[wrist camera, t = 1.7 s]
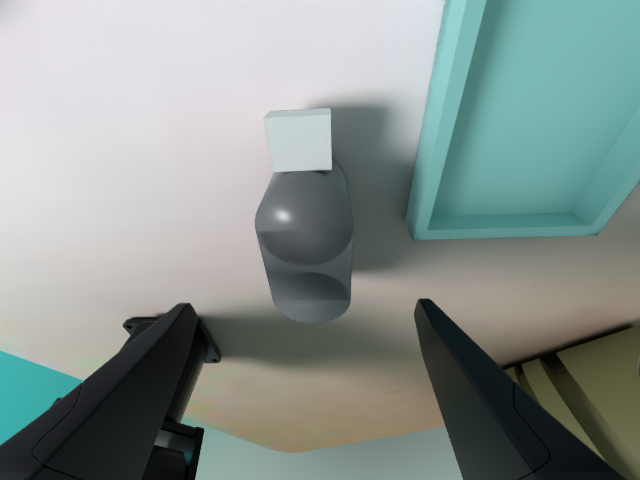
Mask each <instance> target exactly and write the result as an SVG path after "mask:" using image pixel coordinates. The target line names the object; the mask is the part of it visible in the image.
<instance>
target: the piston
mask: <svg viewBox="0 0 640 480" xmlns="http://www.w3.org/2000/svg"><path fill="white" fill-rule="evenodd" d="M556 354H557V355H558V357H559V359H560V360H561V361H562V363H563V364H564V366H565V367H566V368H567V371H563V372H560V373H557V374H554V372H553V371H552V370H551V369H550V368H549V367H548V366H547V365H546V364H545V363H544V362H543V361H542V360H541V359H540V358H538V359H535V360H532V361H529V362H526V363H523V364H522V368H523V371H524V372H523V371H522V370H521V369H520V368H518V367H517V366H514V367H511V368H508V369H505V370H504V371H505V372H506V373H507V374H508V375H509V376H510V377H511V378H512V379H513V381H515V382H516V383H518V384H519V385H520V386H521V387H522V388H523V389H524V390H525V391H526V392H527V393H528V394H529V395H530V396H531V397H532V398H533V399H534V400H535V401H536V402H538V403H539V404H540V405H541V406H542V407H543V408H544V409H545V410H546V411H547V412H548V413H550V414H551V415H552V416H553V417H554V418H555V419H556V420H558V421H559V422H560V423H561V424H562V425H563V426H564V427H566V428H567V429H568V430H569V431H570V432H572V433H573V434H574V435H575V436H576V437H577V438H579V439H580V440H581V441H582V442H583V443H584V444H586V445H587V446H588V447H589V448H590V449H592V450H593V451H594V452H595V453H596V454H597V455H599V456H600V457H601V458H602V459H603V460H604V461H606V462H607V463H608V464H609V465H610V466H612V467H613V468H614V469H615V470H616V471H617V472H619V473H620V474H621V475H622V476H624V477H625V478H626V479H627V480H640V326H635V327H632V328H629V329H626V330H623V331H620V332H617V333H614V334H611V335H608V336H605V337H602V338H599V339H596V340H593V341H590V342H587V343H584V344H581V345H578V346H575V347H571V348H568V349H565V350H562V351H559V352H556Z"/></svg>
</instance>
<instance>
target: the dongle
mask: <svg viewBox="0 0 640 480" xmlns="http://www.w3.org/2000/svg"><path fill="white" fill-rule="evenodd" d="M264 124H265V130H266V136H267V142H268V148H269V153H270V159H271V165H272V171H273V172H274V174H273V176H272V179H271V181H270V183H269V185H268V188H267V190H266V192H265V194H264V197H263V199H262V201H261V203H260V206H259V208H258V210H257V213H256V218H255V229H256V233H257V237H258V241H259V245H260V249H261V254H262V258H263V262H264V266H265V270H266V274H267V278H268V282H269V286H270V290H271V294H272V298H273V301H274V304H275V306H276V308H277V309H278V310H279V311H280V312H281V313H282V314H283V315H285V316H287V317H288V318H290V319H293V320H295V321H299V322H304V323H323V322H328V321H331V320H333V319H336V318H338V317H339V316H341V315H342V314H343V313H344V312H345V311H346V310H347V309H348V307H349V304H350V300H351V274H352V248H353V220H352V214H351V208H350V202H349V195H348V189H347V183H346V178H345V175H344V172H343V170H342V169H341V167H340V166H339V164H338V163H337V162H336V161H335V160H333V159H332V151H331V111H330V108H318V109H299V110H279V111H270V112H269V113H268V114H267V115H266V116H265V117H264Z"/></svg>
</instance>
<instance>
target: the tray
mask: <svg viewBox="0 0 640 480" xmlns="http://www.w3.org/2000/svg"><path fill="white" fill-rule="evenodd" d="M639 180H640V0H445V6H444V11H443V17H442V22H441V27H440V33H439V38H438V44H437V49H436V54H435V60H434V65H433V71H432V76H431V81H430V87H429V92H428V97H427V103H426V108H425V114H424V119H423V124H422V130H421V135H420V141H419V146H418V151H417V157H416V162H415V168H414V173H413V178H412V184H411V189H410V195H409V200H408V205H407V211H406V216H405V224H406V226H407V228H408V230H409V232H410V234H411V236H412V239H413V240H437V239H474V238H511V237H548V236H586V235H598V233H599V232H600V231H601V230H602V228H603V227H604V226H605V224H606V223H607V222H608V220H609V219H610V218H611V217H612V215H613V214H614V213H615V211H616V210H617V209H618V207H619V206H620V205H621V204H622V202H623V201H624V200H625V198H626V197H627V196H628V195H629V193H630V192H631V191H632V189H633V188H634V187H635V185H636V184H637V183H638V182H639Z"/></svg>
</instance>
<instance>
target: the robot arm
mask: <svg viewBox="0 0 640 480" xmlns="http://www.w3.org/2000/svg"><path fill="white" fill-rule="evenodd" d="M414 318H415V323H416V327H417V332H418V337H419V342H420V346H421V351H422V355H423V359H424V362H425V365H426V368H427V371H428V374H429V377H430V380H431V383H432V386H433V389H434V392H435V395H436V398H437V402H438V405H439V408H440V411H441V414H442V417H443V420H444V423H445V426H446V429H447V432H448V435H449V438H450V441H451V444H452V447H453V450H454V453H455V456H456V459H457V462H458V465H459V468H460V471H461V474H462V477H463V480H627V479H626V478H625V477H624V476H622V475H621V474H620V473H619V472H617V471H616V470H615V469H614V468H613V467H612V466H610V465H609V464H608V463H607V462H606V461H604V460H603V459H602V458H601V457H600V456H599V455H597V454H596V453H595V452H594V451H593V450H592V449H590V448H589V447H588V446H587V445H586V444H584V443H583V442H582V441H581V440H580V439H579V438H577V437H576V436H575V435H574V434H573V433H572V432H570V431H569V430H568V429H567V428H566V427H564V426H563V425H562V424H561V423H560V422H559V421H558V420H556V419H555V418H554V417H553V416H552V415H551V414H550V413H548V412H547V411H546V410H545V409H544V408H543V407H542V406H541V405H540V404H539V403H538V402H536V401H535V400H534V399H533V398H532V397H531V396H530V395H529V394H528V393H527V392H526V391H525V390H524V389H523V388H522V387H521V386H520V385H519V384H518V383H516V382H515V381H513V379H512V378H511V377H510V376H509V375H508V374H507V373H506V372H505V371H504V370H503V369H502V368H501V367H500V366H499V365H498V364H497V363H496V362H495V361H494V360H493V359H492V358H491V357H489V356H488V355H487V354H486V353H485V352H484V351H483V350H482V349H481V348H480V347H479V346H478V345H477V344H476V343H475V342H474V341H473V340H472V339H471V338H470V337H469V336H468V335H467V334H466V333H465V332H464V331H463V330H462V329H461V328H460V327H458V326H457V325H456V324H455V323H454V322H453V321H452V320H451V319H450V318H449V317H448V316H447V315H446V314H445V313H444V312H443V311H442V310H441V309H440V308H439V307H438V306H437V305H436V304H435V303H434V302H433V301H432V300H430V299H418V301H417V304H416V308H415V311H414ZM123 327H124V328H125V329H126V330H127V332H128V333H129V334H130V335H131V336H130V337H129V338H128V340H127V341H126V343H125V344H124V346H123V347H122V348H121V350H120V351H119V352H118V353H117V354H116V355H115V356H114V357H112V358H111V359H110V360H109V361H108V362H106V363H105V364H104V365H103V366H101V367H100V368H99V369H98V370H97V371H95V372H94V373H93V374H92V375H90V376H89V377H88V378H87V379H86V380H84V381H83V383H81V384H79V385H78V386H77V387H76V388H75V389H73V390H72V391H71V392H70V393H68V394H67V395H66V396H65V397H64V398H57V400H56V401H55V402H54V403H53V405H52V406H51V407H50V408H49V410H47V411H46V412H44V413H43V414H42V415H40V416H39V417H38V418H36V419H35V420H34V421H32V422H31V423H30V424H28V425H27V426H26V427H25V428H23V429H22V430H20V431H19V432H18V433H16V434H15V435H13V436H12V437H11V438H9V439H8V440H7V441H5V442H4V443H3V444H1V445H0V480H195V477H196V471H197V466H198V461H199V455H200V450H201V445H202V440H203V434H204V428H201V427H191V426H188V425H184V424H181V423H180V422H181V419H182V417H183V414H184V412H185V409H186V407H187V404H188V402H189V399H190V397H191V394H192V392H193V389H194V386H195V384H196V381H197V379H198V376H199V374H200V371H201V369H202V366H203V364H204V363H219V362H220V361H221V358H222V357H221V355H220V353H219V351H218V349H217V347H216V346H215V344H214V342H213V340H212V339H211V337H210V335H209V333H208V331H207V330H206V328H205V326H204V324H203V322H202V321H201V320H199V319H198V317H197V314H196V312H195V310H194V308H193V307H192V305H191V304H190V303H179V304H177V305H176V306H175V307H173V308H172V309H171V310H170V311H169V312H167V313H166V314H165V315H164V316H162V317H161V318H160V319H127V320H126V321H125V322H124V324H123Z"/></svg>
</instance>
